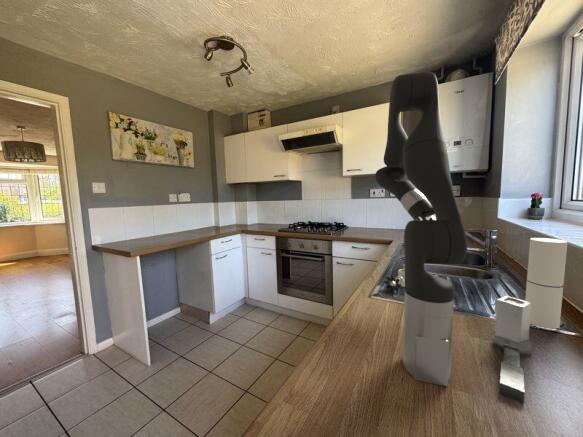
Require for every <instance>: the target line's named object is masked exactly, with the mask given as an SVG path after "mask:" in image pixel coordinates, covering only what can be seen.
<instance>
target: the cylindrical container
mask: <svg viewBox="0 0 583 437" xmlns="http://www.w3.org/2000/svg"><path fill="white" fill-rule="evenodd" d="M567 250H568V241H567V240H563V239H558V238H546V237H530V238H529V251H528V262H527V273H526V274H527V275H526V288H525V299H524V301H527V302H531V314H530V324H533V325H535V326H540V327H544V328H553V329H556V328H559V329H560V328H561V325H560V324H561V314H562V306H563V305H562V304H563V294H564V283H565V275H566V274H565V271H566V261H567Z"/></svg>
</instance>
